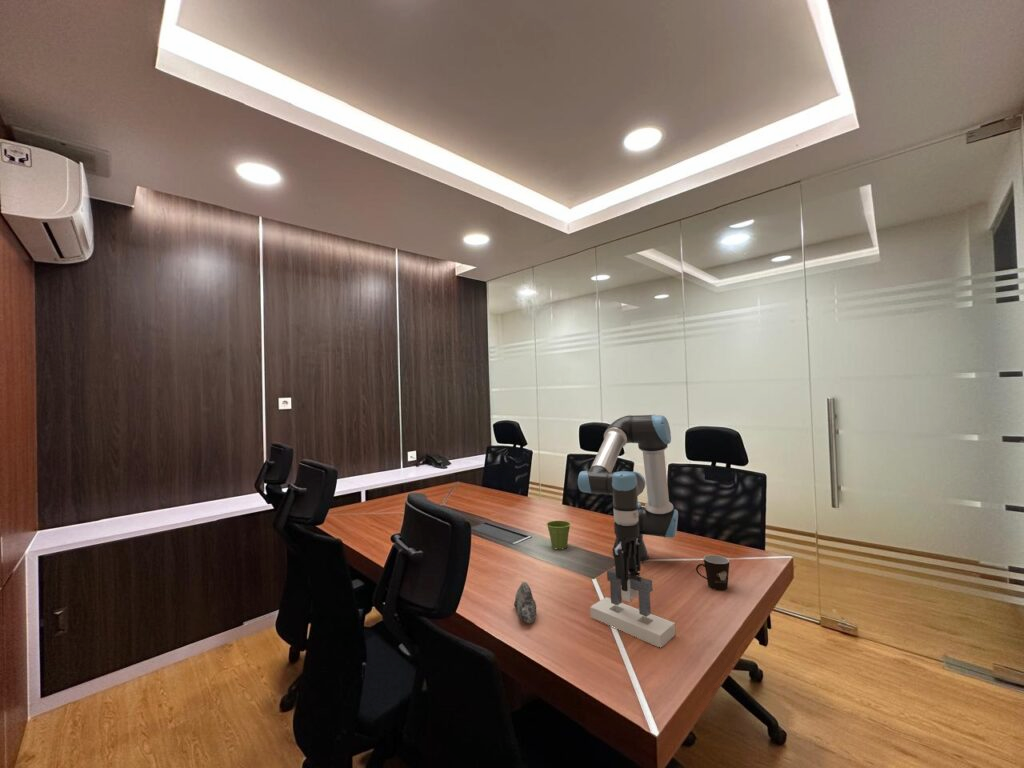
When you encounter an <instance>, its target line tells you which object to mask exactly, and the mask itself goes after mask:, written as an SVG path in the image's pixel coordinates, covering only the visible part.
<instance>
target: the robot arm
mask: <svg viewBox="0 0 1024 768" xmlns="http://www.w3.org/2000/svg"><path fill="white" fill-rule="evenodd" d="M670 428H671V427H670V423H669V421H668V419H667V418H666V417H665V415H656V414H644V415H643V414H641V415H630V414H629V415H624V416H621V417H620V418H618V419H616V420H613V422H612V423H610V425H609V426H608V427H607V428H606V430H605V432H604V433H603V441H602V443H601V445H600V447H599V450H598V452H597V454H596V455H595V457H594V460H593V462H592V464H591V465H590V468H589V470H581V471H580V472H579V474H578V478H577V486H578V489H579V491H580V492H582V493H587V494H594V495H595V494H596V495H610V496H612V502H613V509H612V510H613V522H614V523H613V528H614V529H613V530H614V535H615V540H614V544H613V547H612V557H613V556H614V557H613V558H614V559H613V560H614V569H616V578H617V579H620V580H621V598H622V601H625V602H628V603H631V602H632V598H635V599H637V598H638V591H637V590H634V589H631V587H630V580H629V579H628V578H629V573H630V574H633V575H636V576H639V577H640V575H641V568H642V567H641V564H642V562H644V561H647V559H648V558H649V554H648V550H647V546H646V543H645V541H644V535H645V536H653V537H662V538H670V539H671V538H672V539H673V538H674V537H676V535H677V530H678V521H679V511H678V510H677V509H675V508H674V505H673V503H672V502H670V498H669V497H670V496H669V487H668V477H667V465H666V456H665V454H666V453H665V450H666V449H668V448H669V447H668V445H669V444H670V443H671V442H672V436H671V435H672V434H671V429H670ZM627 444H638V445H637V446H638V450H640V451H641V452H642V457H643V458H642V459H643V467H644V468H643V469H644V474H645V475H644V476H645V477H644V476H643V475H642V474H641V473H640V472H637V471H625V470H624V471H623V470H622V471H615V472H613V469H614V467H615V465H616V462H617V460H618V458H619V455H620V453H621V450H622V448H623V447H625V446H626V445H627ZM645 487H646V494H647V496H646V498H647V502H646V503H645V505H644V506H643V505H642V503H641V502H639V501H638V496H639V495H641V494H642V493H643V492H644V490H645ZM641 561H642V562H641Z"/></svg>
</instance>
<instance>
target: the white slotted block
mask: <svg viewBox="0 0 1024 768" xmlns="http://www.w3.org/2000/svg"><path fill="white" fill-rule="evenodd" d="M589 608H590V618H591V617H593V618H595V619H597V620H599V621H601V622H600V623H602V622H604V623H606V624H608V625H607V626H609V625H610V626H609V627H611V626H613V627H615V628H617V629H616V630H618V629H619V630H618V631H620V630H621V631H620V632H622V631H623V632H622V633H626V634H627V635H629V634H630V636H631V637H634V636H635V637H634V638H636V637H637V639H639V640H641V641H644V642H646V643H648V644H650V645H653V646H655V647H657V648H659V647H660V649H662V648H663V647H664V646H665V645H666V644H667V643H668V642H669V641H671V640H672V638H674V637H675V636H676V623H675V622H674V621H671V620H668V619H666V618H663V617H660V616H657V615H655V614H652V613H651V614H650V615H648V616H647V617H646V616H644V615H641V614H639V608H636V607H634V606H631V605H628V604H625V603H623V602H622V603H621V604H619V605H615V604H612V603H611V597H607V596H605V597H603V598H602V599H600V600H599V601H597V602H596V603H593V604H592V605H591V606H590V607H589ZM595 619H594V620H595ZM597 620H596V621H597ZM599 621H598V622H599ZM604 623H603V624H604ZM606 624H605V625H606ZM613 627H612V628H613ZM615 628H614V629H615ZM661 647H662V648H661Z"/></svg>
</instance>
